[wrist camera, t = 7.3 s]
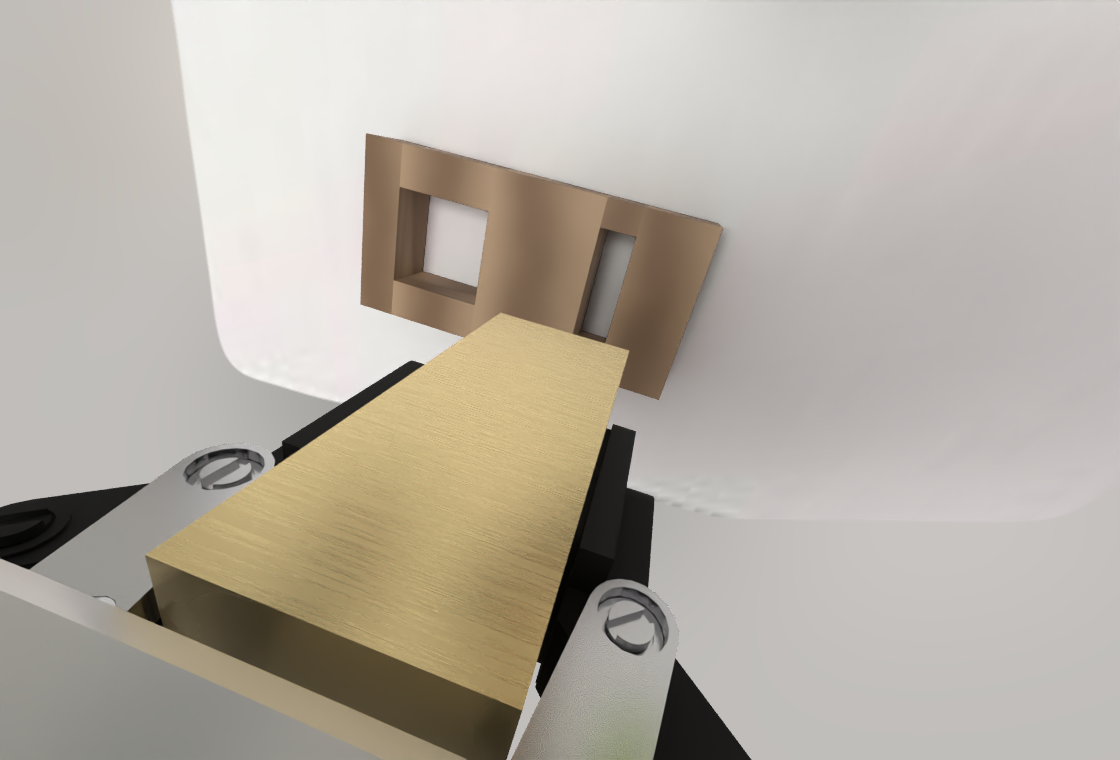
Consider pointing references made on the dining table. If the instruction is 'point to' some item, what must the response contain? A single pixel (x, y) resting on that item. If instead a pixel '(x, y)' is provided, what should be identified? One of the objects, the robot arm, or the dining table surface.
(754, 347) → the dining table surface
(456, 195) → the block
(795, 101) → the dining table surface
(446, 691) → the square bit
